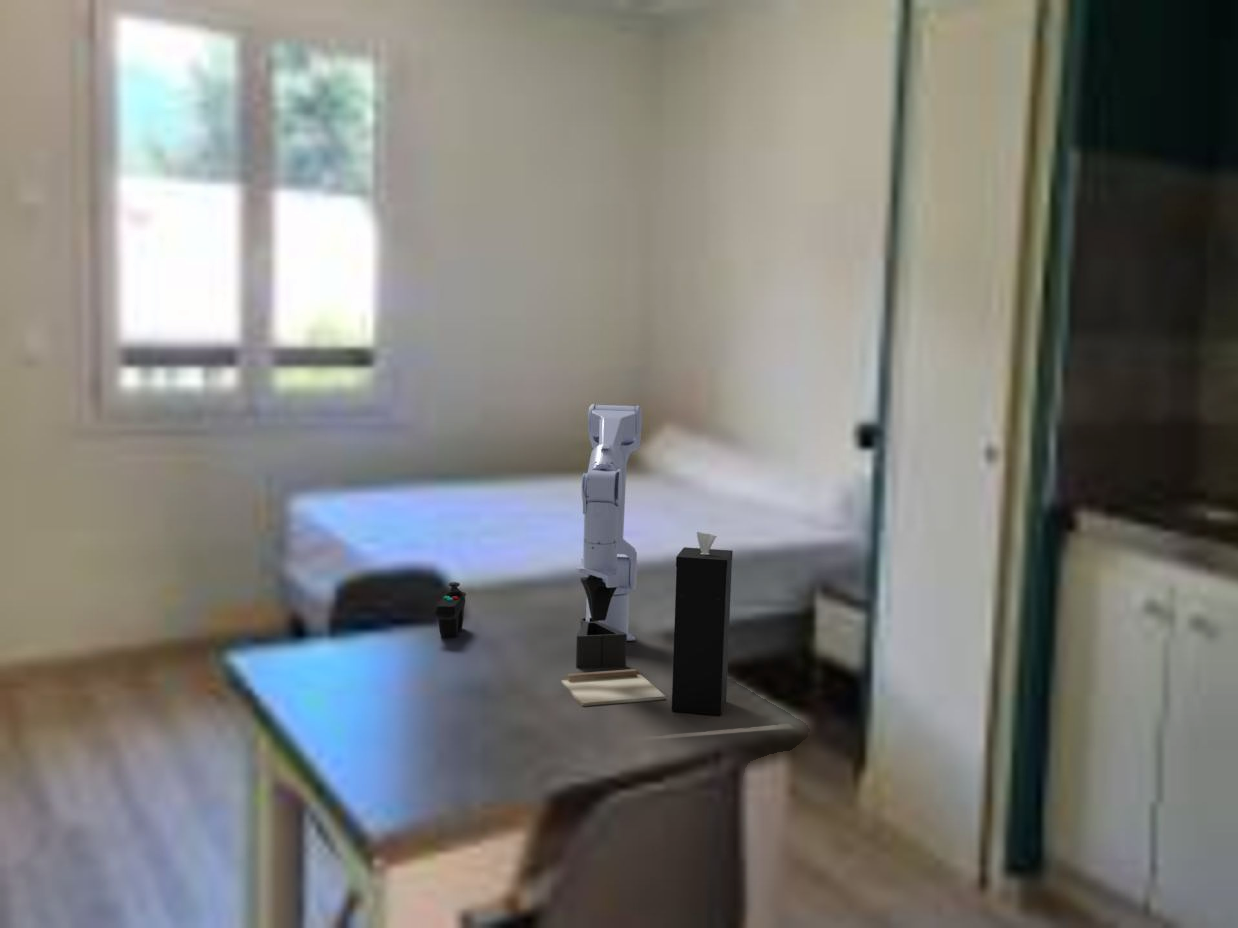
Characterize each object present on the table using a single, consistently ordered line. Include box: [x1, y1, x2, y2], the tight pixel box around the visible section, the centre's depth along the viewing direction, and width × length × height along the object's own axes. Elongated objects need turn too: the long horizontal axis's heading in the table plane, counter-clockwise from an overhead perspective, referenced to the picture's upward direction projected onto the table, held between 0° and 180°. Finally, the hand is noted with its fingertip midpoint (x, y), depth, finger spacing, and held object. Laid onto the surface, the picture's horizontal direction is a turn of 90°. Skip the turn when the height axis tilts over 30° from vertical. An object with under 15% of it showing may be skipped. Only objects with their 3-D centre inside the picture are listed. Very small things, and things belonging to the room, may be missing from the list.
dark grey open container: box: [575, 617, 628, 669], centre depth 211 cm, size 9×6×12 cm
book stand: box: [561, 668, 666, 707], centre depth 193 cm, size 12×14×2 cm
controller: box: [434, 581, 467, 638], centre depth 220 cm, size 4×12×10 cm, turn 177°
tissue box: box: [671, 531, 734, 716], centre depth 185 cm, size 8×8×28 cm
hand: (598, 619), depth 200 cm, fingers closed
